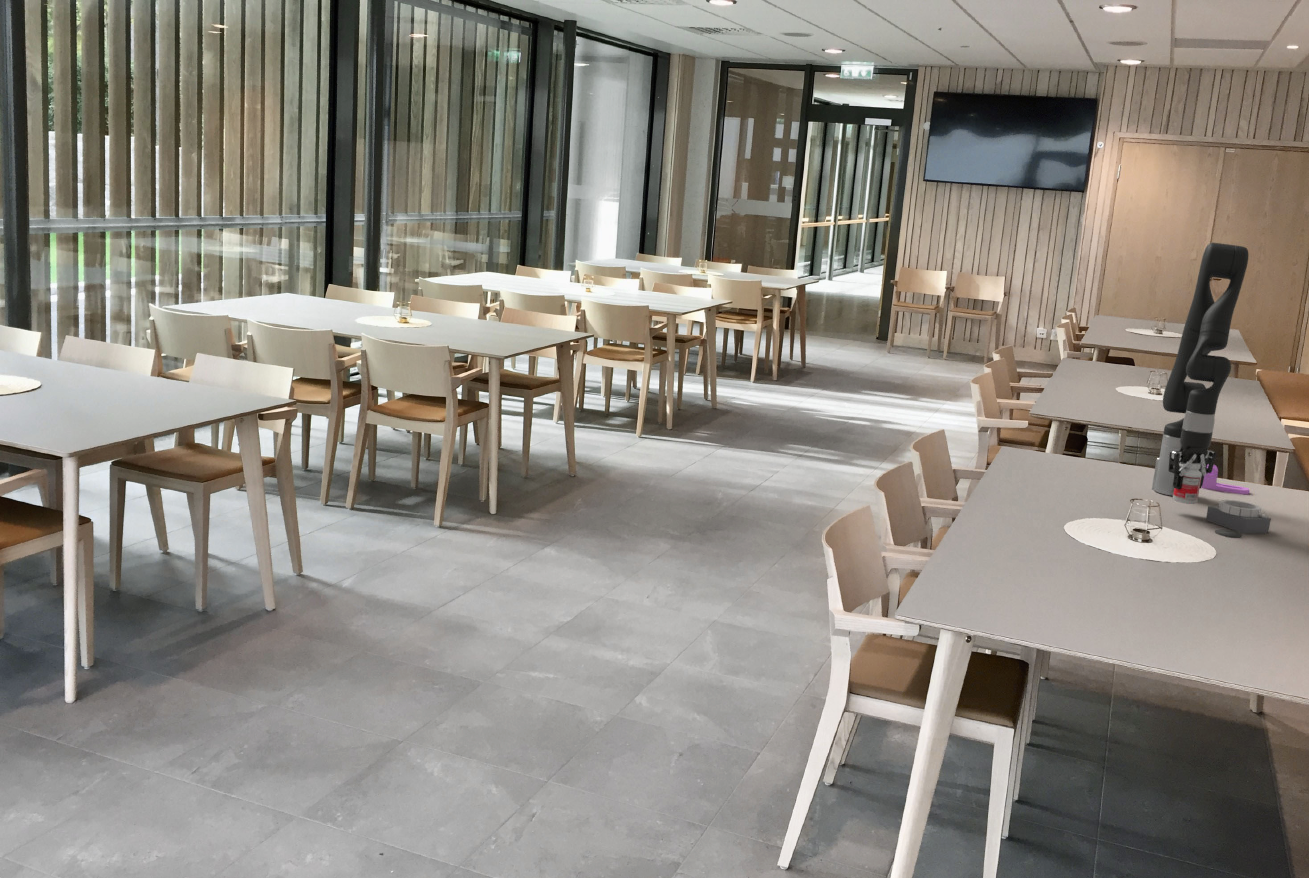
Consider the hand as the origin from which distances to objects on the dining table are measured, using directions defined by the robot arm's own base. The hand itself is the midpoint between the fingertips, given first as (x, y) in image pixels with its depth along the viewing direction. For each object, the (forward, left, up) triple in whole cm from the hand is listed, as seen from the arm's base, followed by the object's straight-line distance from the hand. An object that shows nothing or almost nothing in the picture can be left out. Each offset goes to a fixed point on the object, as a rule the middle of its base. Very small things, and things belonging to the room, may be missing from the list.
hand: (1187, 488), depth 308 cm
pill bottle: (0, 0, -4) cm, 4 cm away
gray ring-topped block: (+13, +6, -7) cm, 16 cm away
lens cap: (+19, -3, -8) cm, 20 cm away
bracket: (-24, +39, -8) cm, 46 cm away
